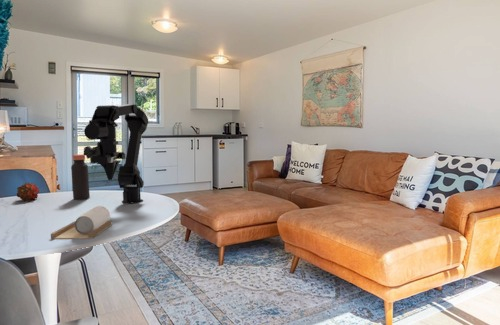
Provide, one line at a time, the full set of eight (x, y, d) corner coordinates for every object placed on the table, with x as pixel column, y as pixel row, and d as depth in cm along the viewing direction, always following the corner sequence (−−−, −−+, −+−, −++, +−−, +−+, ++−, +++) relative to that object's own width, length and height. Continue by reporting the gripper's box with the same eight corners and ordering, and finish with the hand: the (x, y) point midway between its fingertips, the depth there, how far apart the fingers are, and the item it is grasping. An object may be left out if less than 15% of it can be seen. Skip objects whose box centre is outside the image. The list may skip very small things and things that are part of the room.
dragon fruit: (25, 206, 156) (28, 205, 167) (43, 193, 160) (44, 192, 170) (11, 191, 154) (14, 191, 165) (28, 178, 158) (31, 179, 168)
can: (114, 218, 118) (99, 229, 106) (98, 228, 118) (81, 240, 106) (103, 202, 117) (86, 210, 105) (87, 212, 118) (68, 222, 106)
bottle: (80, 196, 168) (78, 154, 166) (93, 197, 166) (90, 154, 164) (69, 199, 161) (66, 155, 159) (82, 200, 159) (79, 155, 157)
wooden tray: (75, 225, 118) (75, 221, 118) (111, 225, 117) (111, 220, 117) (51, 238, 104) (50, 233, 104) (91, 238, 103) (91, 233, 103)
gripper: (97, 138, 145) (99, 176, 146) (74, 140, 126) (77, 183, 127) (125, 138, 144) (126, 176, 146) (105, 139, 126) (108, 183, 127)
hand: (110, 179), depth 137 cm, fingers closed
